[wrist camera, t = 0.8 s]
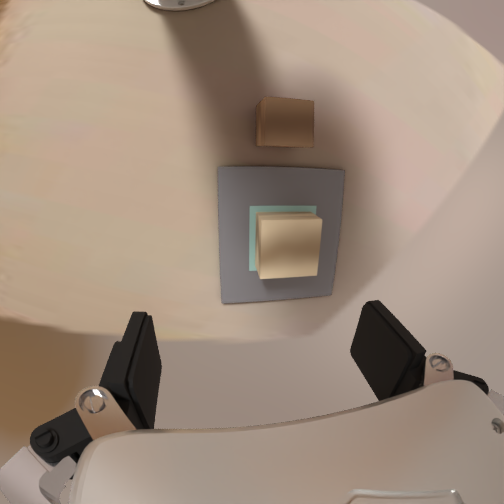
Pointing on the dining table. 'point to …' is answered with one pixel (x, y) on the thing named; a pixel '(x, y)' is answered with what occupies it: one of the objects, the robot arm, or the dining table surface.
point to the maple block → (287, 244)
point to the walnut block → (285, 122)
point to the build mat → (275, 200)
